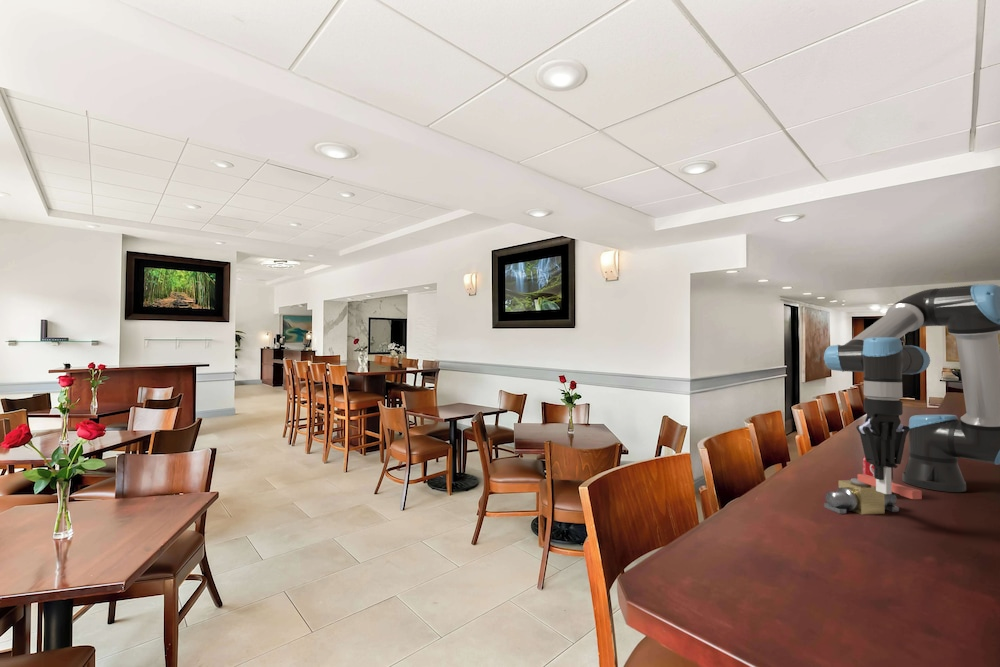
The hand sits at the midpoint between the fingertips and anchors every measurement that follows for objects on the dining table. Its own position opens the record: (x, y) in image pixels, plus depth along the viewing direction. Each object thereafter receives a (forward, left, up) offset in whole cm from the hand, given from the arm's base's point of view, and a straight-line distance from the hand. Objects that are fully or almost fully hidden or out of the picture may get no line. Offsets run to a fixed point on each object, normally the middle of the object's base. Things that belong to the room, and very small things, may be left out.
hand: (883, 492), depth 114 cm
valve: (-5, -11, -8) cm, 15 cm away
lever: (-5, -5, -1) cm, 7 cm away
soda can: (-22, -22, -9) cm, 32 cm away
